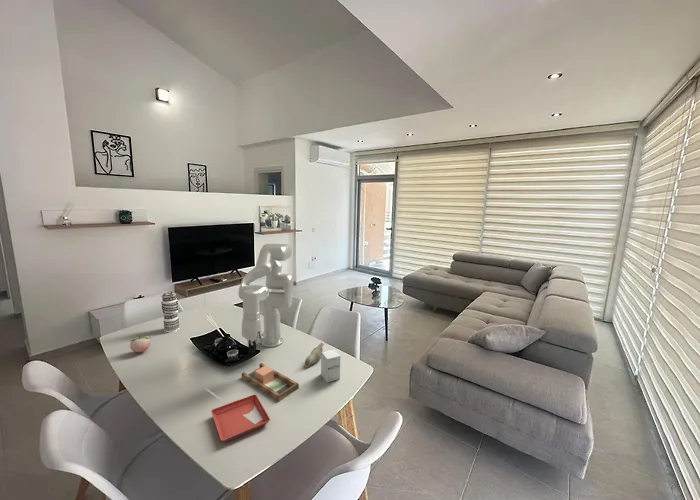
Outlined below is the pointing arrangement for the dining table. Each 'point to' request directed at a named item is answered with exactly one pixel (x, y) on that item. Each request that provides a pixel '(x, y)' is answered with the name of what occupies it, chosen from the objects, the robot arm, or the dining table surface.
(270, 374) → the terracotta block
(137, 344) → the decorative fruit
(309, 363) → the decorative bird
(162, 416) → the dining table surface
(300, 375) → the dining table surface
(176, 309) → the model tower building
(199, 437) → the dining table surface
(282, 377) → the wooden tray
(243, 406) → the red shallow tray
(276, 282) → the robot arm
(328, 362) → the supplement box
